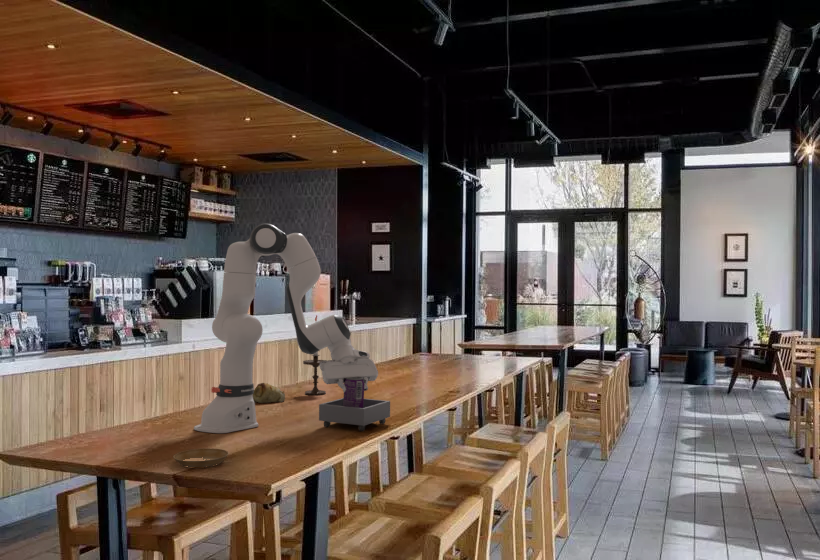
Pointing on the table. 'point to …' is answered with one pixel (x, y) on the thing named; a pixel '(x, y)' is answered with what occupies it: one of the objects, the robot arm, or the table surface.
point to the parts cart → (354, 413)
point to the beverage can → (354, 392)
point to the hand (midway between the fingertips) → (356, 390)
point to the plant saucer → (207, 453)
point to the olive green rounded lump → (268, 394)
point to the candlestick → (315, 364)
